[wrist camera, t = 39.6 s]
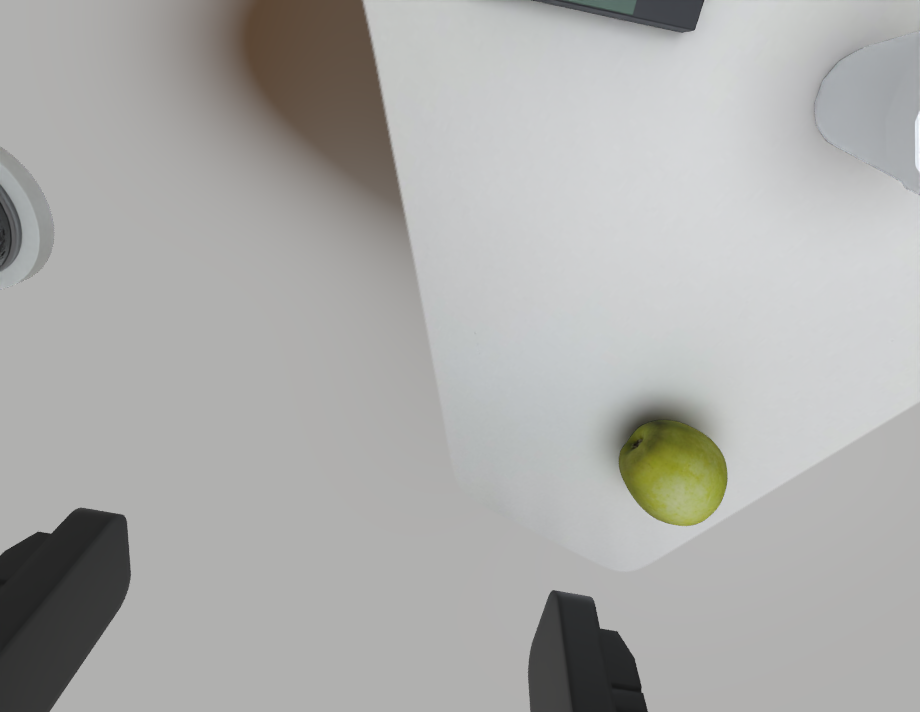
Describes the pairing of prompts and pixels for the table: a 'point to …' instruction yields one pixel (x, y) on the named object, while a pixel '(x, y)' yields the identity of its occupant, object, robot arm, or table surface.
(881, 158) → the foam cup
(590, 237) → the table surface
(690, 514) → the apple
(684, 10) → the scale
